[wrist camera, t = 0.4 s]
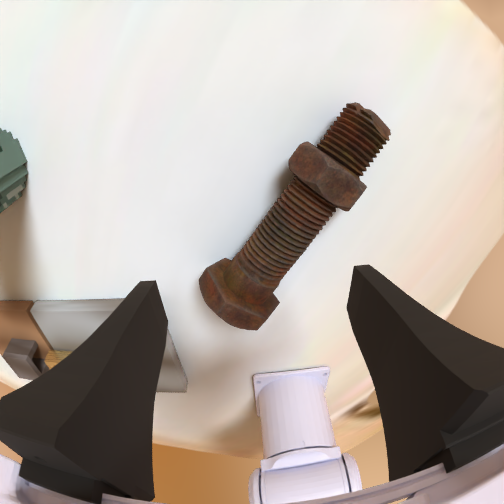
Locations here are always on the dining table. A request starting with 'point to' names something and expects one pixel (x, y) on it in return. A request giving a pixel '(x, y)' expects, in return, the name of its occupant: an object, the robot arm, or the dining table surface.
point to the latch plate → (65, 336)
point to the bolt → (295, 218)
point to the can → (11, 169)
